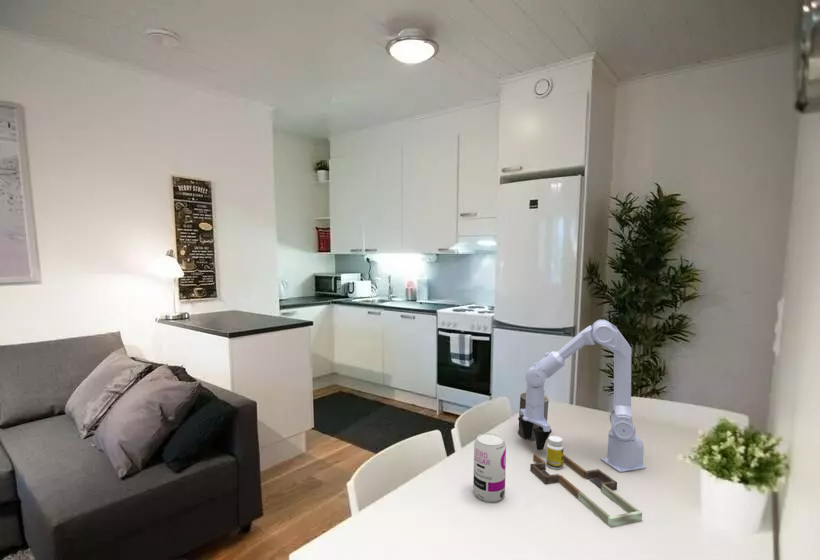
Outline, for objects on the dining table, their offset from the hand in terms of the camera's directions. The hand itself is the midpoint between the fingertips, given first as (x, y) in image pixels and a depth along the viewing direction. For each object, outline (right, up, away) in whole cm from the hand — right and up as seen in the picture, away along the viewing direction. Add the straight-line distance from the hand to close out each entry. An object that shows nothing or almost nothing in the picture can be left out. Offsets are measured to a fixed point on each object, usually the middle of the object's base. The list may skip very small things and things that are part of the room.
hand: (533, 444), depth 133 cm
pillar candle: (+3, -1, +11) cm, 11 cm away
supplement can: (-20, -3, -26) cm, 33 cm away
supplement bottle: (+3, -2, -11) cm, 11 cm away
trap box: (+6, -3, -22) cm, 23 cm away
